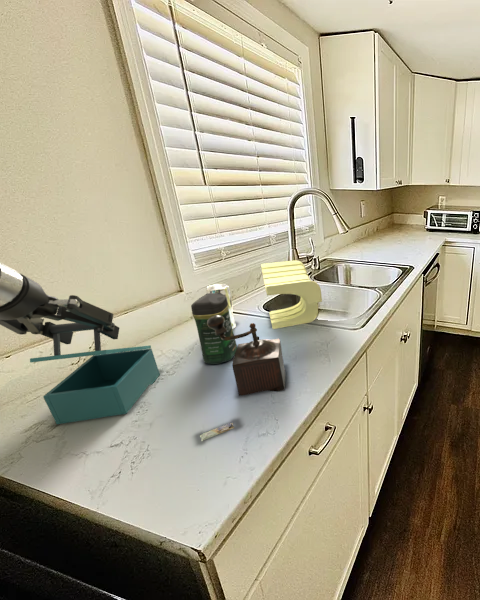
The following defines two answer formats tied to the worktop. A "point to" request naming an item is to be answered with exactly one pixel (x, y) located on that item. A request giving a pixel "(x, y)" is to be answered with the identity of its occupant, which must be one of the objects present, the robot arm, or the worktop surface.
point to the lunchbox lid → (80, 327)
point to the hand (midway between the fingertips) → (93, 335)
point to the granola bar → (216, 431)
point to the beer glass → (226, 291)
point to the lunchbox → (103, 386)
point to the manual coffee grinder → (254, 360)
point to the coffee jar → (211, 343)
